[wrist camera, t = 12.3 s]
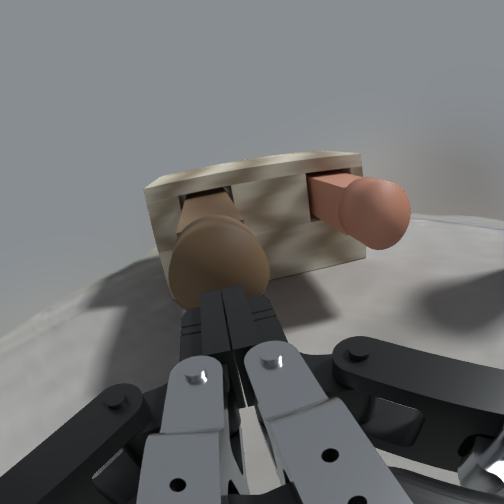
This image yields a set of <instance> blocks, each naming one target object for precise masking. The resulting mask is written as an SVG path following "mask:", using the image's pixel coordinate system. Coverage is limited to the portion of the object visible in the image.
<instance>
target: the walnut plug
mask: <svg viewBox="0 0 504 504" xmlns="http://www.w3.org/2000/svg"><path fill="white" fill-rule="evenodd" d="M176 234H177V239H176V242H175V244H174V248H173V252H172V257H171V261H170V266H169V273H168V278H169V285H170V288H171V291H172V294H173V295H174V297H175V299H176V300H177V302H178V303H179V304H180V305H181V306H182V307H183V308H184V309H185V310H186V311H187V310H188V309H190V308H195V307H200V292H205V291H210V290H215V289H221V294H222V298H223V302H224V297H223V291H222V288H225V287H230V286H234V285H239V284H242V285H243V288H244V292H245V295H246V297H249V296H253V295H258V294H260V295H262V296H263V295H264V293H265V292H266V289H267V286H268V283H269V277H270V268H269V263H268V259H267V256H266V254H265V252H264V251H263V249H262V247H261V246H260V244H259V242H258V241H257V239H256V238H255V236H254V235H253V233H252V232H251V230H250V229H249V228H248V227H247V226H246V225H245V224H244V219H243V218H242V216H241V215H240V213H239V211H238V210H237V208H236V207H235V205H234V203H233V202H232V200H231V199H230V197H229V196H228V194H227V192H226V191H225V189H224V188H223V187H219V188H213V189H208V190H203V191H198V192H193V193H189V194H187V195H186V198H185V202H184V206H183V209H182V213H181V217H180V220H179V224H178V228H177V232H176ZM224 307H225V303H224ZM225 311H226V308H225ZM226 315H227V314H226ZM227 320H228V319H227Z"/></svg>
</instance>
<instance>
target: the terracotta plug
mask: <svg viewBox="0 0 504 504" xmlns="http://www.w3.org/2000/svg"><path fill="white" fill-rule="evenodd" d="M305 174H306V183H307V192H308V201H309V211H310V213H311V214H313V215H314V216H316V217H317V218H319V219H321V220H322V221H324V222H325V223H327V224H329V225H330V226H332V227H333V228H335V229H337V230H338V231H340V232H341V233H343V234H344V235H346V236H347V235H350V236H352V237H353V238H355V239H356V240H358V241H359V242H361V243H363V244H364V245H366V246H367V247H369V248H371V249H375V250H383V249H387V248H389V247H391V246H393V245H395V244H396V243H397V242H398V241H399V240H400V239H401V238H402V236H403V235H404V233H405V232H406V230H407V227H408V225H409V221H410V214H411V211H410V203H409V199H408V197H407V195H406V193H405V191H404V190H403V189H402V188H401V187H400V186H398V185H397V184H395V183H392V182H388V181H384V180H380V179H375V178H371V177H360V176H356V175H351V174H347V173H342V172H338V171H333V170H325V171H318V172H310V173H305Z"/></svg>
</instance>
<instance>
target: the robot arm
mask: <svg viewBox="0 0 504 504" xmlns="http://www.w3.org/2000/svg"><path fill="white" fill-rule="evenodd" d="M222 291H223V297H224V302H223V298H222V294H221V289H215V290H210V291H205V292H200V307H195V308H190V309H188V310H187V311H186V313H185V314H184V316H183V317H182V325H181V328H182V329H181V341H180V362H179V363H178V364H177V365H176V366H175V367H174V368H173V369H172V371H171V372H170V375H169V381H168V383H167V384H165V385H163V386H161V387H159V388H157V389H154V390H151V391H149V392H146V393H143V394H142V393H141V391H140V389H139V388H137V387H136V386H134V385H131V384H117V385H114V386H111V387H109V388H107V389H105V390H104V391H103V392H101V393H100V394H99V395H98V396H97V397H96V398H94V399H93V400H92V401H91V402H90V403H89V404H87V405H86V406H85V407H84V408H83V409H81V410H80V411H79V412H78V413H77V414H76V415H74V416H73V417H72V418H71V419H70V420H68V421H67V422H66V423H65V424H64V425H62V426H61V427H60V428H59V429H58V430H57V431H55V432H54V433H53V434H52V435H51V436H49V437H48V438H47V439H46V440H45V441H43V442H42V443H41V444H40V445H39V446H37V447H36V448H35V449H34V450H33V451H31V452H30V453H29V454H28V455H27V456H25V457H24V458H23V459H22V460H21V461H19V462H18V463H17V464H16V465H15V466H13V467H12V468H11V469H10V470H9V471H7V472H6V473H5V474H4V475H2V476H1V477H0V504H504V370H502V369H497V368H492V367H488V366H483V365H478V364H474V363H469V362H465V361H461V360H456V359H452V358H448V357H444V356H439V355H435V354H431V353H427V352H423V351H419V350H415V349H412V348H408V347H404V346H400V345H396V344H393V343H389V342H385V341H381V340H378V339H374V338H370V337H365V336H356V337H351V338H347V339H345V340H343V341H341V342H340V343H338V344H337V345H336V346H335V348H334V350H333V353H332V354H329V355H308V354H303V353H300V352H299V351H298V350H297V349H296V347H294V346H293V345H292V344H290V343H288V341H287V339H286V337H285V334H284V332H283V330H282V328H281V326H280V323H279V321H278V319H277V317H276V315H275V313H274V310H273V308H272V306H271V304H270V302H269V300H268V299H267V298H265V297H263V296H262V295H260V294H258V295H253V296H249V297H246V295H245V292H244V288H243V285H242V284H239V285H234V286H230V287H225V288H222ZM224 303H225V307H224ZM225 308H226V311H225ZM226 314H227V315H226ZM227 319H228V320H227ZM238 371H239V372H238ZM239 374H240V377H239ZM240 378H241V382H242V386H243V390H244V394H245V397H246V401H247V405H248V407H249V406H255V410H256V414H257V418H258V422H259V426H260V429H261V432H262V434H263V437H264V440H265V443H266V445H267V448H268V451H269V453H270V456H271V458H272V461H273V464H274V466H275V469H276V471H277V474H278V477H279V480H280V483H281V486H280V487H278V488H276V489H274V490H272V491H269V492H267V493H265V494H261V495H250V491H249V488H248V483H247V477H246V468H245V458H244V448H243V438H242V429H241V426H240V423H241V419H240V413H239V409H240V408H245V407H246V406H245V401H244V396H243V392H242V387H241V382H240ZM380 398H382V399H380ZM384 399H385V400H384ZM387 400H388V401H387ZM390 401H391V402H390ZM393 402H395V403H393ZM396 403H398V404H396ZM399 404H401V405H399ZM402 405H404V406H402ZM406 406H407V407H406ZM409 407H411V408H409ZM412 408H414V409H412ZM416 409H417V410H416ZM374 447H375V448H378V449H381V450H383V451H386V452H389V453H392V454H395V455H398V456H401V457H404V458H407V459H410V460H413V461H417V462H420V463H423V464H427V465H430V466H434V467H438V468H441V469H445V470H449V471H453V472H457V473H458V478H459V480H460V486H457V485H454V484H450V483H447V482H443V481H440V480H437V479H433V478H430V477H427V476H424V475H421V474H418V473H415V472H412V471H409V470H406V469H402V468H397V467H389V466H387V465H386V464H385V462H384V461H383V459H382V458H381V456H380V455H379V453H378V452H377V451H376V449H375V448H374ZM121 448H122V449H123V450H124V451H123V452H122V453H121V454H120V455H119V456H118V457H117V458H116V459H115V460H114V461H113V462H112V463H111V464H110V465H109V466H108V467H107V468H106V469H105V470H104V471H103V472H102V473H101V474H100V475H98V476H97V477H96V478H94V479H92V476H93V475H94V474H95V473H96V472H97V471H98V470H99V469H100V468H101V467H102V466H103V465H104V464H105V463H106V462H107V461H108V460H109V459H111V458H112V457H113V456H114V455H115V454H116V453H117V452H118V451H119V450H120V449H121Z"/></svg>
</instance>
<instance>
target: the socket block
mask: <svg viewBox="0 0 504 504" xmlns="http://www.w3.org/2000/svg"><path fill="white" fill-rule="evenodd" d="M325 170H333V171H338V172H342V173H347V174H351V175H356V176H360V177H363V174H362V161H361V154H357V153H347V152H332V151H315V150H314V151H306V152H297V153H289V154H282V155H274V156H267V157H260V158H254V159H247V160H241V161H235V162H230V163H224V164H219V165H213V166H208V167H203V168H198V169H193V170H188V171H183V172H178V173H174V174H169V175H165V176H161V177H160V178H158V179H157V180H155V181H154V182H152V183H151V184H150V185H148V186H147V187H145V189H143V190H144V194H145V199H146V203H147V208H148V212H149V216H150V220H151V225H152V228H153V233H154V237H155V240H156V244H157V248H158V252H159V256H160V260H161V263H162V267H163V270H164V274H165V277H166V281H167V284H168V288H169V291H170V294H171V298H172V300H175V297H174V295H173V294H172V291H171V288H170V285H169V278H168V273H169V266H170V261H171V257H172V252H173V248H174V244H175V242H176V239H177V234H176V232H177V228H178V224H179V220H180V217H181V213H182V209H183V206H184V202H185V198H186V195H187V194H189V193H193V192H198V191H203V190H208V189H213V188H219V187H223V188H224V189H225V191H226V192H227V194H228V196H229V197H230V199H231V200H232V202H233V203H234V205H235V207H236V208H237V210H238V211H239V213H240V215H241V216H242V218H243V219H244V224H245V225H246V226H247V227H248V228H249V229H250V230H251V232H252V233H253V235H254V236H255V238H256V239H257V241H258V242H259V244H260V246H261V247H262V249H263V251H264V252H265V254H266V256H267V259H268V263H269V268H270V277H269V280H272V279H276V278H281V277H285V276H290V275H294V274H299V273H303V272H308V271H312V270H316V269H321V268H325V267H329V266H333V265H337V264H342V263H346V262H350V261H354V260H358V259H362V258H366V245H364V244H363V243H361V242H359V241H358V240H356V239H355V238H353V237H352V236H350V235H347V236H346V235H344V234H343V233H341V232H340V231H338V230H337V229H335V228H333V227H332V226H330V225H329V224H327V223H325V222H324V221H322V220H321V219H319V218H317V217H316V216H314V215H313V214H311V213H310V211H309V201H308V192H307V183H306V174H305V173H310V172H318V171H325Z"/></svg>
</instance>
